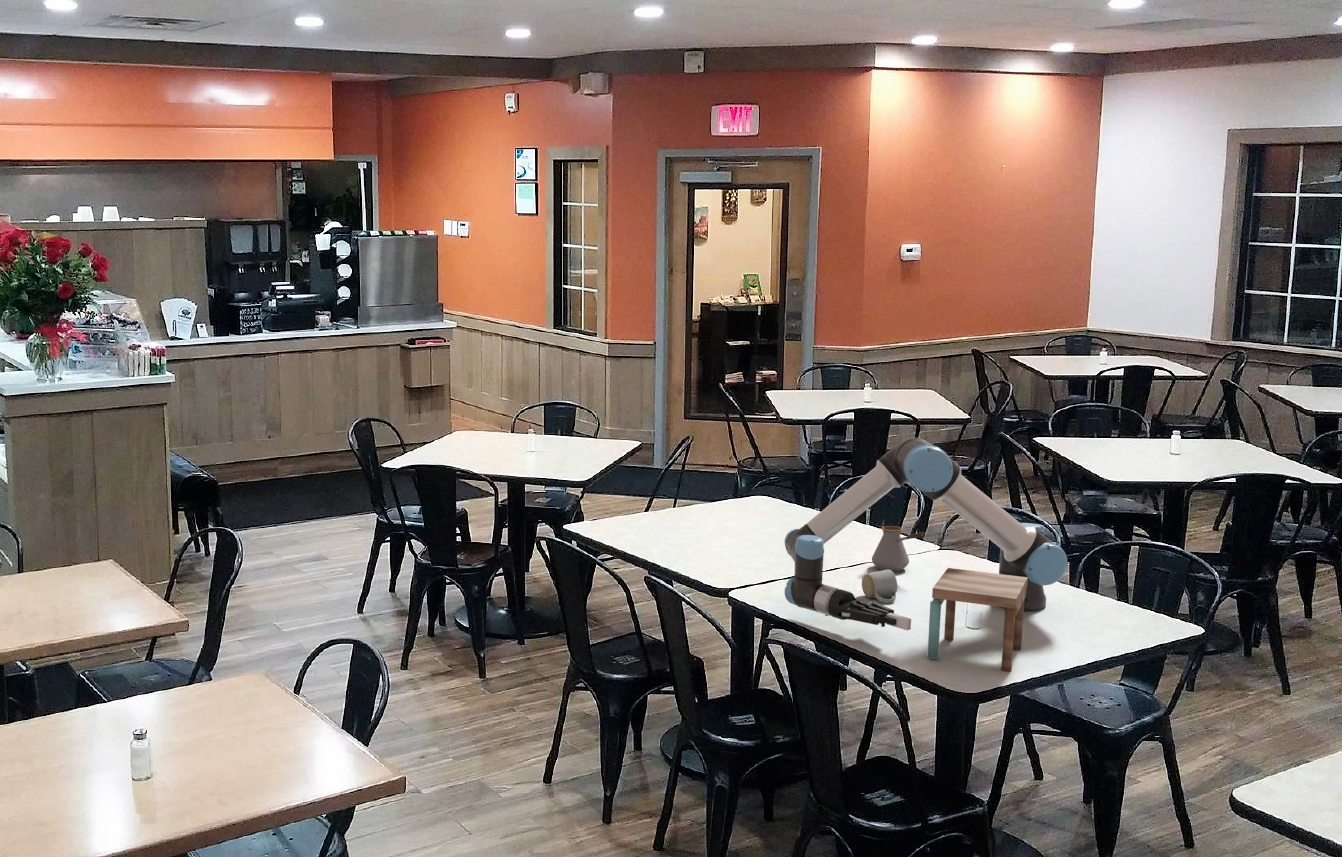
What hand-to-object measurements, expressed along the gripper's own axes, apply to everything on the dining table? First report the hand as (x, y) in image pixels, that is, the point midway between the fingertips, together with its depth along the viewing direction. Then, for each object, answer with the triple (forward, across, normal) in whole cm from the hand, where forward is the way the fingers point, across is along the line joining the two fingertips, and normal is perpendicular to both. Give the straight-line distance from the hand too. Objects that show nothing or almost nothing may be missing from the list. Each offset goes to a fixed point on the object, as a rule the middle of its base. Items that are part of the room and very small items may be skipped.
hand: (909, 624), depth 323 cm
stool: (+12, -12, -7) cm, 19 cm away
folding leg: (+4, -7, -7) cm, 10 cm away
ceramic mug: (-33, -32, -8) cm, 47 cm away
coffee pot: (-45, -58, -8) cm, 74 cm away
